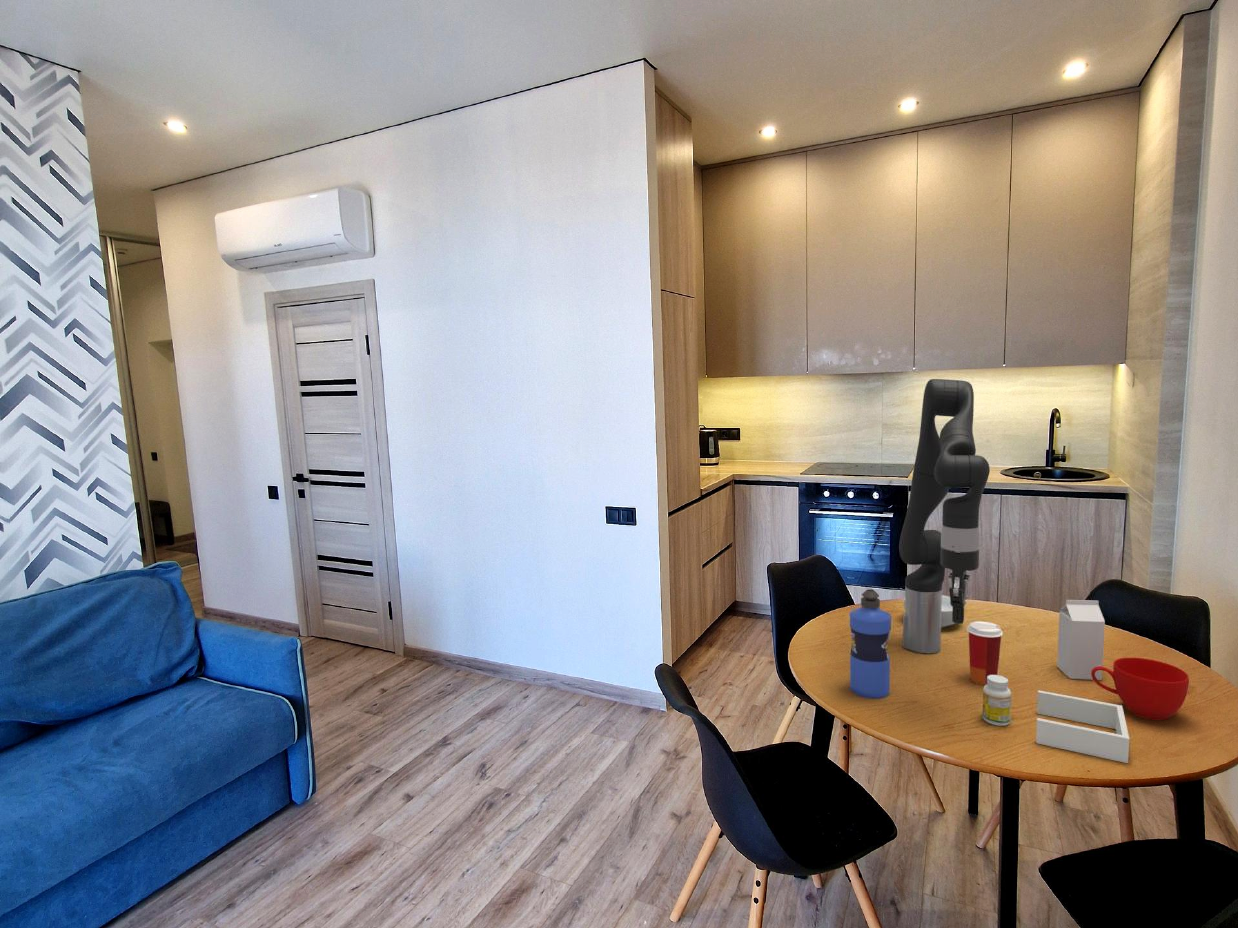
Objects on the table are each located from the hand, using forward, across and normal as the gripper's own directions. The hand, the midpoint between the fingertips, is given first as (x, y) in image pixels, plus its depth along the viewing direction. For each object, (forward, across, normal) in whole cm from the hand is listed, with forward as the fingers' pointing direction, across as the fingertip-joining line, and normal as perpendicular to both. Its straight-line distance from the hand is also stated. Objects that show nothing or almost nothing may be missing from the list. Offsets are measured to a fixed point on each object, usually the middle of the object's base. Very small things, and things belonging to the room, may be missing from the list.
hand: (958, 622), depth 147 cm
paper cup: (+21, -20, +4) cm, 29 cm away
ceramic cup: (+21, -19, +34) cm, 44 cm away
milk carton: (+21, -35, +24) cm, 47 cm away
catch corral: (+21, -1, +23) cm, 31 cm away
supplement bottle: (+21, 0, +8) cm, 23 cm away
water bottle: (+21, -2, -19) cm, 29 cm away
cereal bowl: (+21, -56, -12) cm, 61 cm away
